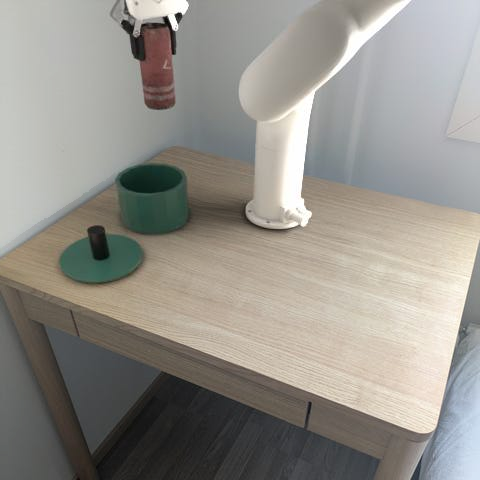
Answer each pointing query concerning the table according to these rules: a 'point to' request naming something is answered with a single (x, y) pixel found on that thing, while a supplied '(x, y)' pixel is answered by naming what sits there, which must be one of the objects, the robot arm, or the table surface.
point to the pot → (153, 198)
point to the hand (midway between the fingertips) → (155, 55)
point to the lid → (100, 256)
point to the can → (157, 67)
